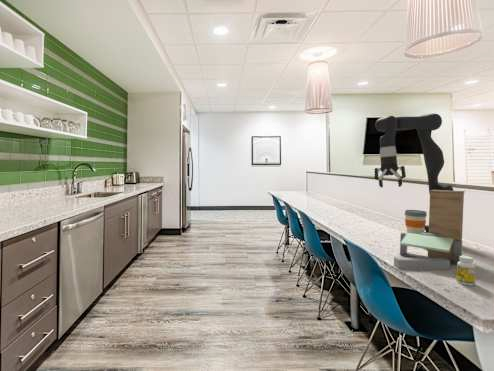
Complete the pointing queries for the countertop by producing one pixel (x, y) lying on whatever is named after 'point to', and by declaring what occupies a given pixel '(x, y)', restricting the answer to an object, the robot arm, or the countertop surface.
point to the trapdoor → (427, 241)
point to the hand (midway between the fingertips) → (390, 187)
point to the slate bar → (421, 263)
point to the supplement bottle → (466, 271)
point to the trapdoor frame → (456, 257)
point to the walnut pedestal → (446, 218)
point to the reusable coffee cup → (415, 221)
